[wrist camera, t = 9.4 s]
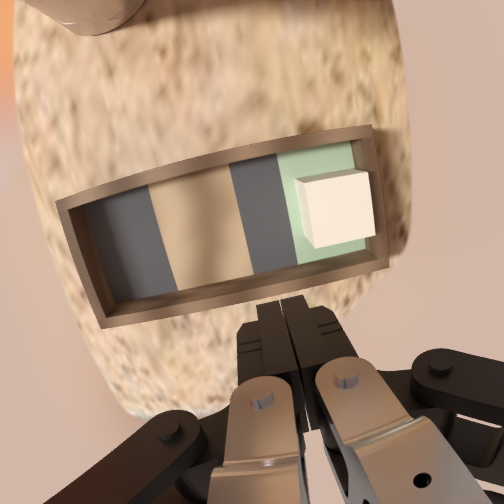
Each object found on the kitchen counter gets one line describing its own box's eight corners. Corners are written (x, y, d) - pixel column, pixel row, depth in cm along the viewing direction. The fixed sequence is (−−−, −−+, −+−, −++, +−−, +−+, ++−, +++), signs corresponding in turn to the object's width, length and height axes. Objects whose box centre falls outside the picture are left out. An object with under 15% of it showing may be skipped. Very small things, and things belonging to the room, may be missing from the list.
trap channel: (114, 309, 30) (101, 329, 27) (75, 194, 27) (55, 201, 23) (372, 253, 30) (389, 267, 26) (354, 127, 26) (371, 124, 23)
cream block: (304, 235, 28) (315, 248, 24) (294, 178, 27) (304, 183, 23) (357, 223, 28) (375, 235, 24) (349, 168, 26) (367, 171, 23)
